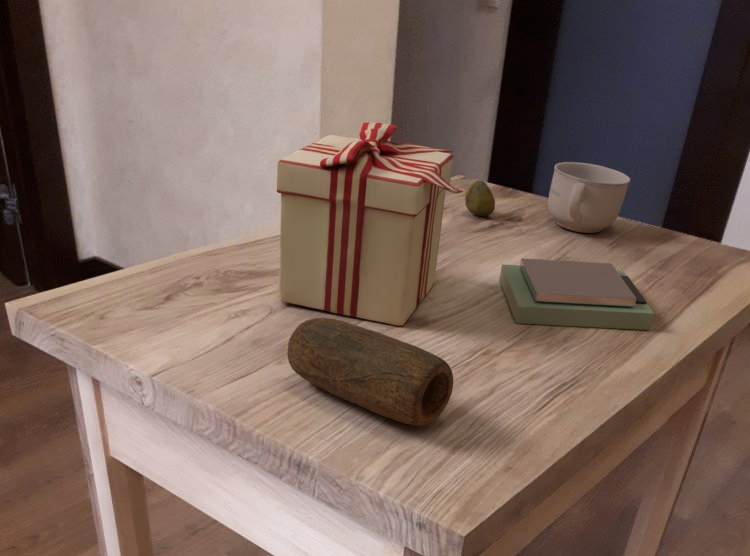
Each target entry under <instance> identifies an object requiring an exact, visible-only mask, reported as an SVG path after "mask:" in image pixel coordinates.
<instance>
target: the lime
mask: <svg viewBox="0 0 750 556" xmlns="http://www.w3.org/2000/svg"><path fill="white" fill-rule="evenodd" d="M464 202H465V207H466V209H467V210H468V211H469V213H471V214H473V215H476V216H480V217H488V216H490V215H492V214H493V213H494V211H495V210H496V209H495V208H496V200H495V197H494V195H493V192H492V190H491V189H490V187H489V186H488V184H487V183H486V182H485V181H484V180H479V179H478V180H475V181H474V182H472V183H471V184H470V186H468V188H467V190H466V192H465V195H464Z"/></svg>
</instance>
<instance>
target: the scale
mask: <svg viewBox="0 0 750 556" xmlns="http://www.w3.org/2000/svg"><path fill="white" fill-rule="evenodd" d="M617 272H618V273H619V275H620V276H621V277H622V279H623V280H624V282H625V283H626V284H627V286H628V287H629V288H630V290H631V291H632V293H633V294H634V295H635V297H636V298H637V299H636V303H635V307H628V306H609V305H591V304H572V303H554V302H536V301H535V299H534V296H533V294H532V292H531V290H530V288H529V285H528V283H527V281H526V279H525V276H524V274H523V272H522V270H521V268H520V264H519V265H517V264H501V268H500V274H499V283H500V285H501V288H502V291H503V293H504V296H505V299H506V301H507V304H508V307H509V309H510V312H511V314H512V317H513V320H514V322H515V324H522V325H523V324H525V325H543V326H561V327H563V326H564V327H578V328H579V327H580V328H582V327H583V328H600V329H619V330H620V329H621V330H636V331H650V330H651V327H652V324H653V320H654V317H655V312H654V310H653V309H652V308H651V306H650V305H649V304H648V301H647V300H646V298H645V297H644V295H642V293H641V291H640V289H638V287H637V286H636V285H635V284H634V282H633V281H632V280H631V278H630V276H629V275H627V274H626V273H625V272H624V270H617Z"/></svg>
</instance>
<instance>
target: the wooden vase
mask: <svg viewBox="0 0 750 556" xmlns="http://www.w3.org/2000/svg"><path fill="white" fill-rule="evenodd" d="M288 339H289V340H288V344H287V360H288V363H289V365H290V368H291V369H292V370H293V371H294V373H296V374H297V375H298V376H299V377H301V378H302V379H304V380H305V381H307V382H309V383H310V384H312V385H314V386H316V387H318V388H320V389H322V390H324V391H326V392H329V394H332V395H334V396H336V397H338V398H340V399H342V400H344V401H348V402H350V403H352V404H354V405H357V406H358V407H361V408H363V409H366V410H368V411H370V412H372V413H375V414H376V415H380V416H382V417H385V418H388V419H390V420H393V421H396V422H399V423H402V424H405V425H409V426H413V427H423V426H427V425H429V424H432V423H433V422H435V420H437V419H438V418H439V417H440V416H441V414H442V413H443V412H444V410H445V408H446V406H447V405H448V404H449V401H450V398H451V396H452V393H453V388H454V375H453V374H454V373H453V371H452V368H451V366H450V365H449V363H448V362H447V361H446V360H445V359H443V358H442V357H440V356H438V355H435V354H434V353H432V352H430V351H427V350H425V349H423V348H420V347H418V346H416V345H414V344H411V343H408V342H406V341H402V340H400V339H397V338H395V337H391V336H388V335H386V334H383V333H380V332H378V331H375V330H372V329H369V328H366V327H362V326H359V325H357V324H352V323H349V322H347V321H344V320H339V319H335V318H330V317H315V318H310V319H306V320H305V321H303V322H301V323H300V324H298V326H297V327H296V328H295V329H294V331H293V332H292V334H291V335H290V337H289V338H288Z"/></svg>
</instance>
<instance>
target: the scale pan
mask: <svg viewBox="0 0 750 556" xmlns="http://www.w3.org/2000/svg"><path fill="white" fill-rule="evenodd" d="M519 265H520V268H521V270H522V272H523V274H524V276H525V279H526V281H527V283H528V285H529V288H530V290H531V292H532V294H533V296H534V299H535V301H536V302H554V303H572V304H591V305H609V306H628V307H635V303H636V299H637V298H636V297H635V295H634V294H633V293H632V291H631V290H630V288H629V287H628V286H627V284H626V283H625V282H624V280H623V279H622V277H621V276H620V275H619V273H618V272H617V271H618V270H617V269H616V267H615V266H614V264H612V263H609V262H593V261H577V260H576V261H573V260H556V259H555V260H554V259H542V258H541V259H540V258H539V259H538V258H523V257H521V258H520V263H519Z"/></svg>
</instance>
